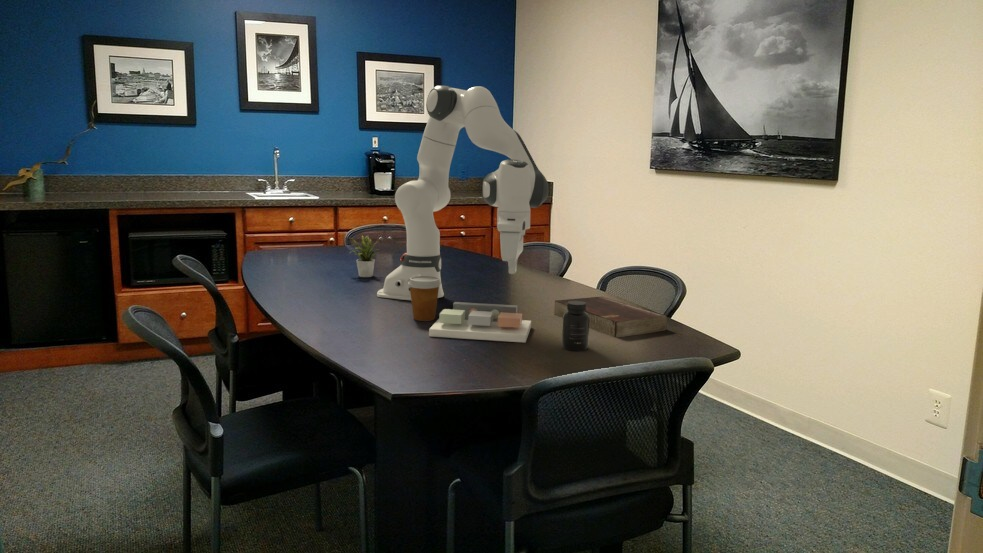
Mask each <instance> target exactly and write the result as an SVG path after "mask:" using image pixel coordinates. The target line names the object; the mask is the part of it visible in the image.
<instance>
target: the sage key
mask: <svg viewBox="0 0 983 553" xmlns="http://www.w3.org/2000/svg"><path fill="white" fill-rule="evenodd" d="M438 316H439V318H438V319H439V323H451V324H461V323H462V322H463V321H464V320H465V310H453V308H452V309H451V308H444V309H442V310H441V311H440V312H439V314H438Z"/></svg>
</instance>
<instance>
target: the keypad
mask: <svg viewBox="0 0 983 553" xmlns="http://www.w3.org/2000/svg"><path fill="white" fill-rule="evenodd" d="M452 309H453V310H465V320H464V321H463V322H462V323H461V324H451V323H439V318H438V319H437V320H436V321H435V322H434V323H433V324H432V326H431V327H429V329H428V336H429V337H434V338H435V337H436V338H446V339H449V338H451V339H465V340H480V341H481V340H482V341H493V342H494V341H495V342H511V343H512V342H514V343H526V342H527V339H528V338H529V337H528V336H529V334H530V330H531V328H532V320H525V319H522V324H521V326H520V328H516V327H500V326H498V316H499V314H500V313H501V312H504V313H518V305H516V304H515V305H514V304H513V305H512V304H497V303H480V302H478V303H477V302H465V301H463V302H461V301H454V302H453V303H452ZM472 311H487V312H494V316H493V322H492V324H491V325H490V326H483V325H468V316H469V314H470V313H471V312H472Z"/></svg>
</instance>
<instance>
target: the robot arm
mask: <svg viewBox="0 0 983 553" xmlns="http://www.w3.org/2000/svg"><path fill="white" fill-rule="evenodd" d="M425 105H426V107H425V108H426V110H427V111H426V112H427V114H428V116H429V117H428V119H427V122H426V126H425V128H424V131H423V134H422V138H421V142H420V145H419V149H418V153H417V156H416V160H417V162H418V166H419V174H418V175H419V176H418V178H417V180H410V181H408V182H405V183H403V184H402V185H400V186H399V187H398V188H397V189H396V192H395V195H394V201H395V205H396V206H397V209H398V210H399V211H400V213H401V215H402V218H403V221H404V225H405V232H406V252H404V253H403V254H402V255H401V256H400V258H399V259H400V260H399V261H400V265H399V266H398V267H397V268H395V269H393V271H391V272H390V273H389V274H388V275H386V277H385V279H384V282H383V288H380V289H378V290H377V293H376V296H377V298H384V299H385V298H386V299H393V300H394V299H395V300H405V301H411V293H410V286H409V284H408V282H409V280H410V278H411V277H416V276H432V277H437V278H439V281H440V283H441V284H440V286H439V290H438V298H437V299H439V298H443V297H444V296H445V293H444V290H443V285H442V278H441V269H442V255H441V252H440V250H441V248H440V247H441V245H440V242H441V239H440V238H441V233H440V232H441V231H440V229H439V228H438V227H437V224H436V222H435V218H434V212H438V211H441V210H442V209H443V208H445V207H446V206H447V205H448V204H449V202H450V200H451V195H452V194H451V190H450V187H449V183H450V182H449V177H450V168H451V164H452V160H453V156H454V152H455V150H456V146H457V142H458V139H459V138H458V137H459V133H460V131H461V130H462V129H463V128H465V132H466V134H467V136H468V139H470V141H471V143H472V144H474V145H475V146H477V147H478V148H480V149H483V150H488V151H492V152H495V153H498V154H500V155H504V156H506V157H508V158H509V159H505V160H502V161H501V162H500V164H499V166H498V168H497V169H496V170H495V171H492V172H489V173H488V174H487V175H485V177H484V178H483V179H482V181H481V182H482V183H481V196H482V199H483V200H484V201H485V203H486V204H487V205H489V206H491V207H495V208H496V207H497V210H496V217H497V218H496V221H497V222H496V228H497V231H498V232H499V242H500V256H501V260H502V262H507V265H508V274H509V275H515V274H516V273H517V267H518V259H519V257H520V255H521V254H522V253H523V251H524V236H526V230H530V229H531V208H533V209H537V208H539V207H540V206H541V205H542V204H543V203H545V201H546V200H547V199H548V196H549V191H550V189H549V183H548V180H547V179H546V177H545V175H544V173H542V171H541V170H540V169H539V167H538V166H537V164H536V162H535V159H533V157H532V155H531V153H530V151H529V149H528V147H527V145H526V144H525V142H524V140H523V138H522V137H521V135H520V133H518V131H516V130H515V129H513V128H512V127H511V126H510V125H509V124H508V123H507V122H506V121H505V120H504V118H503V116H502V114H501V112H500V108H499V106H498V103H497V101H496V99H495V98H494V96H493V95H492V93H491V91H490V90H489V89H487V88H486V87H485V86H480V85H479V86H473V87H470V88H468V89H467V90H466V89H461V88H455V87H451V86H448V85H436V86H434V87H433V88H432V89H431V90H430V91H429V93H428V95H427V98H426V104H425Z"/></svg>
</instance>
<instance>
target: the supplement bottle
mask: <svg viewBox="0 0 983 553" xmlns="http://www.w3.org/2000/svg"><path fill="white" fill-rule="evenodd" d="M567 310H568V311H567V312H566V313H564V315H563V318H562V329H561V331H562V332H561V347H562V348H563V349H564V350H566V351H569V350H570V351H571V352H583V351H587V349H588V348H589V339H590V338H589V336H590V328H589V315H588V314H587V313H586V312H585V311H586V303H585V302H582V301H569V302H568V303H567Z"/></svg>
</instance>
